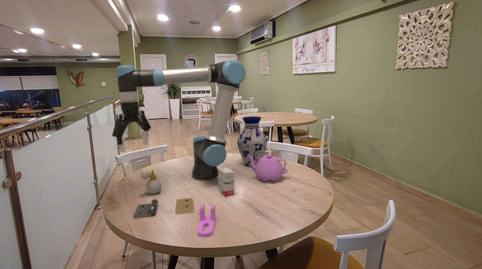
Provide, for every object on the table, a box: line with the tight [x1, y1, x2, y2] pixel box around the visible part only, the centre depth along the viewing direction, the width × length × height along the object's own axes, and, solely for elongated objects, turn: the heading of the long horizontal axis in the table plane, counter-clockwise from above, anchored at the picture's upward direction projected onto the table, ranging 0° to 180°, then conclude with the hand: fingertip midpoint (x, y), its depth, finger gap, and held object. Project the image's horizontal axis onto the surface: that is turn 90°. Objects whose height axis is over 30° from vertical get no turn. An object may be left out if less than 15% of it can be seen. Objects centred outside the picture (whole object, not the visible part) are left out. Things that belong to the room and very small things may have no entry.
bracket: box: [196, 203, 216, 238], centre depth 103 cm, size 13×6×7 cm, turn 0°
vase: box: [236, 116, 268, 167], centre depth 175 cm, size 19×19×30 cm
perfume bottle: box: [141, 169, 163, 195], centre depth 134 cm, size 8×10×12 cm
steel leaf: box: [132, 199, 159, 219], centre depth 117 cm, size 8×10×3 cm
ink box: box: [217, 166, 235, 198], centre depth 133 cm, size 8×5×12 cm, turn 26°
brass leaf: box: [175, 197, 194, 215], centre depth 119 cm, size 7×10×3 cm
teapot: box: [247, 153, 289, 183], centre depth 150 cm, size 22×16×14 cm
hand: (134, 147), depth 127 cm, fingers open, 13 cm apart
